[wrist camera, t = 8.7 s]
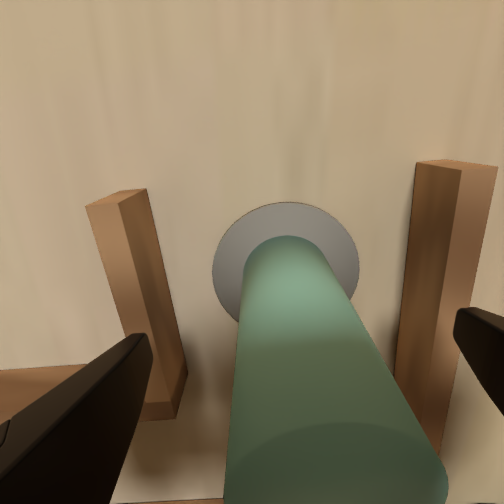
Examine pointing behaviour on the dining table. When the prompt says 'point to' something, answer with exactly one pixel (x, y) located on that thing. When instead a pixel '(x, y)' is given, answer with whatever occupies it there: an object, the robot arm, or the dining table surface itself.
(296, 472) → the peg
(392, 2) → the dining table surface
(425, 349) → the channel
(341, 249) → the pad
